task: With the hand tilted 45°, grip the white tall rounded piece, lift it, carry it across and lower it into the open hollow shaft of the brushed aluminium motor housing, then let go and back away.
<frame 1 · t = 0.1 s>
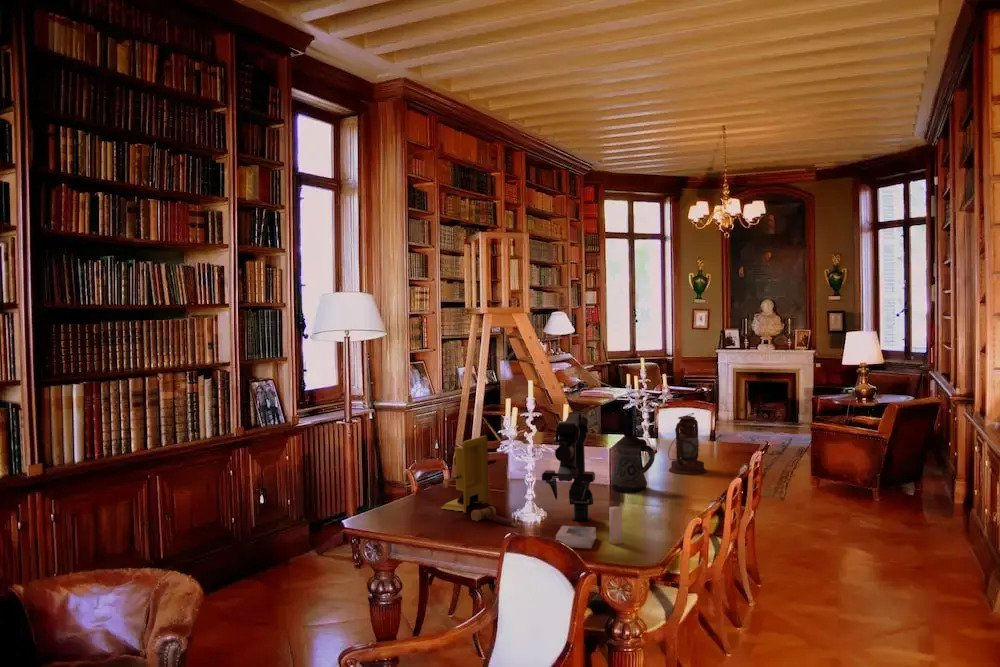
hand: (568, 499, 283), 15 cm above the table, tool pointing down, fingers open, 9 cm apart
olive upright panel stand: (465, 506, 336), on the table
white tall rounded piece: (616, 542, 279), on the table
beer stein: (632, 489, 361), on the table
lantern: (687, 471, 398), on the table
housing: (576, 542, 280), on the table
gavel: (497, 523, 310), on the table
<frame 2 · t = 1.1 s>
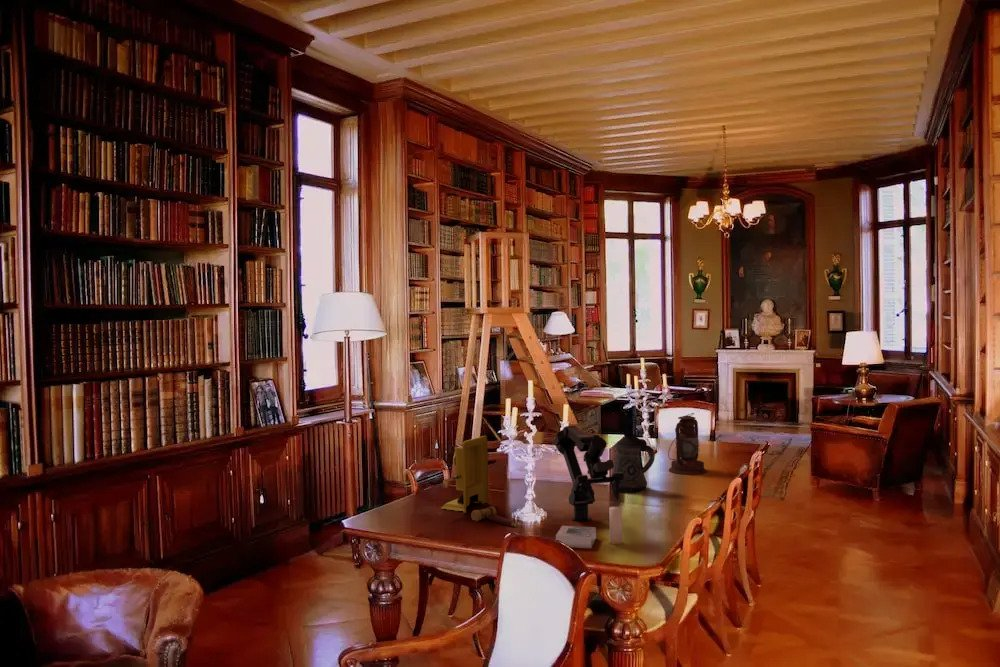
hand: (606, 500, 286), 13 cm above the table, tool tilted 45°, fingers open, 9 cm apart
nothing on the table moved.
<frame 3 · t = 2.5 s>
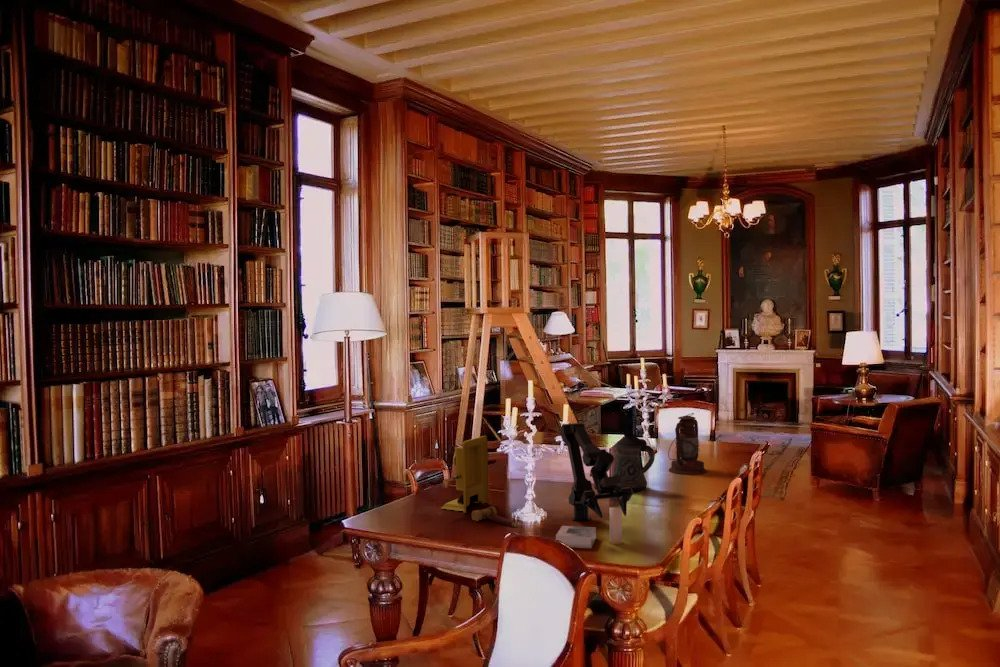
hand: (613, 516, 280), 9 cm above the table, tool tilted 45°, fingers open, 9 cm apart
nothing on the table moved.
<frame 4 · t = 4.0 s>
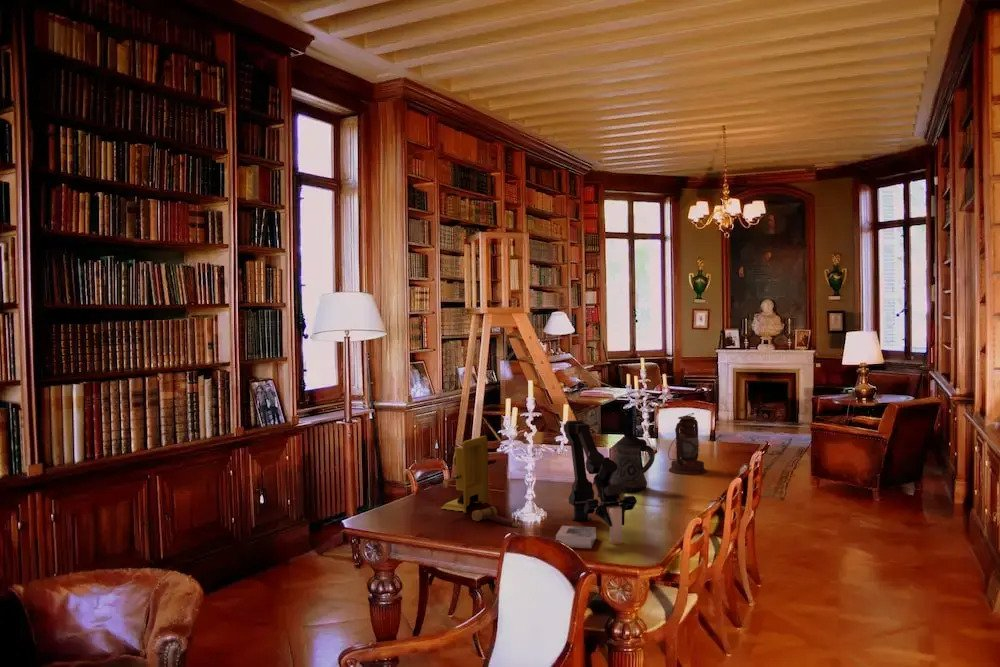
hand: (617, 525, 277), 7 cm above the table, tool tilted 45°, fingers closed on white tall rounded piece, 4 cm apart
white tall rounded piece: (616, 542, 279), on the table, touching gripper
everything else where it was.
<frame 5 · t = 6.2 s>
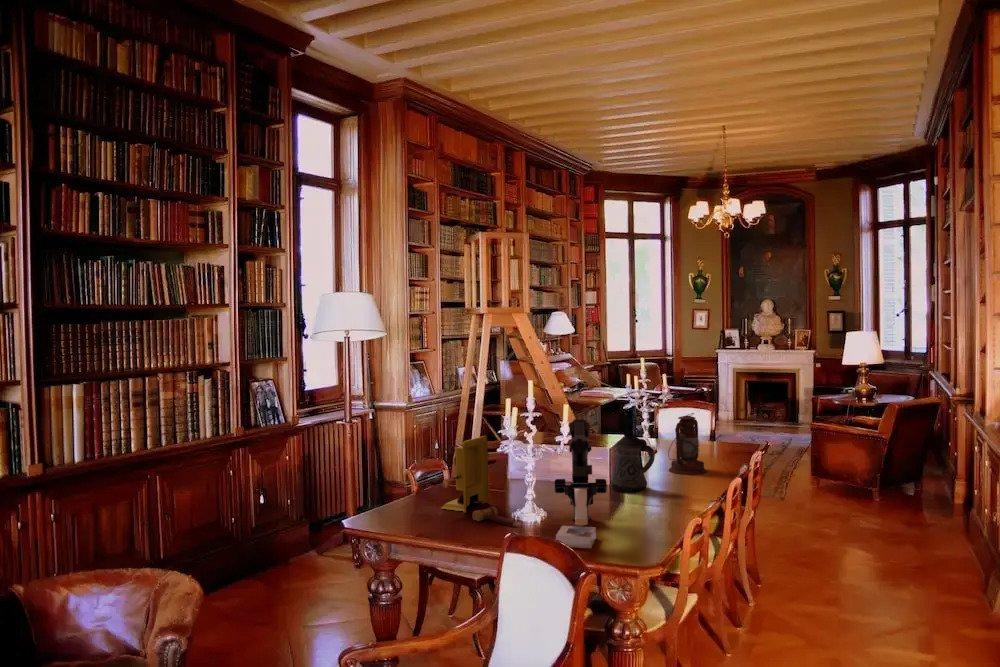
hand: (580, 506, 278), 13 cm above the table, tool tilted 45°, fingers closed on white tall rounded piece, 4 cm apart
white tall rounded piece: (581, 523, 280), point 7 cm above the table, touching gripper
everything else where it was.
when the fingers open (8 cm above the table, at t = 8.4 s): white tall rounded piece drops 1 cm, resting in housing.
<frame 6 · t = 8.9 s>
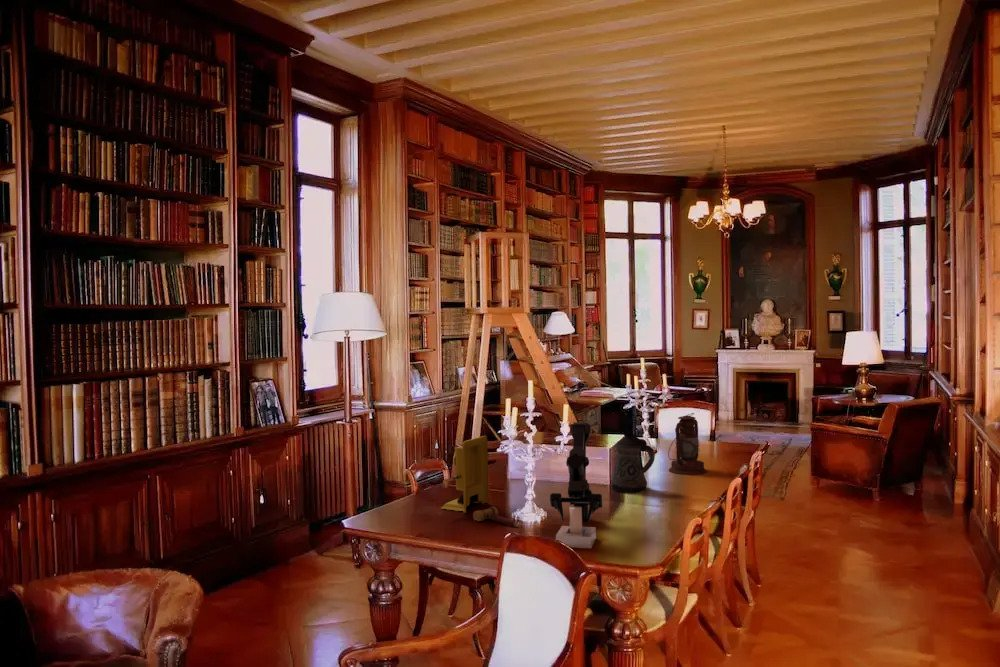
hand: (575, 521, 279), 8 cm above the table, tool tilted 45°, fingers open, 9 cm apart
white tall rounded piece: (576, 542, 280), resting in housing
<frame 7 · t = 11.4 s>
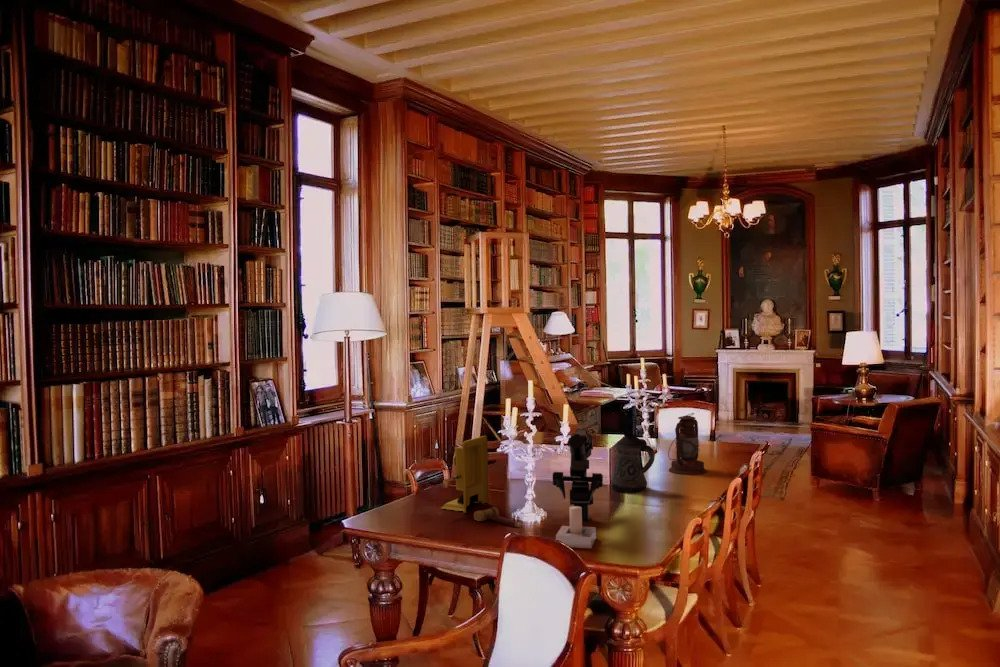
hand: (577, 499, 288), 14 cm above the table, tool tilted 45°, fingers open, 9 cm apart
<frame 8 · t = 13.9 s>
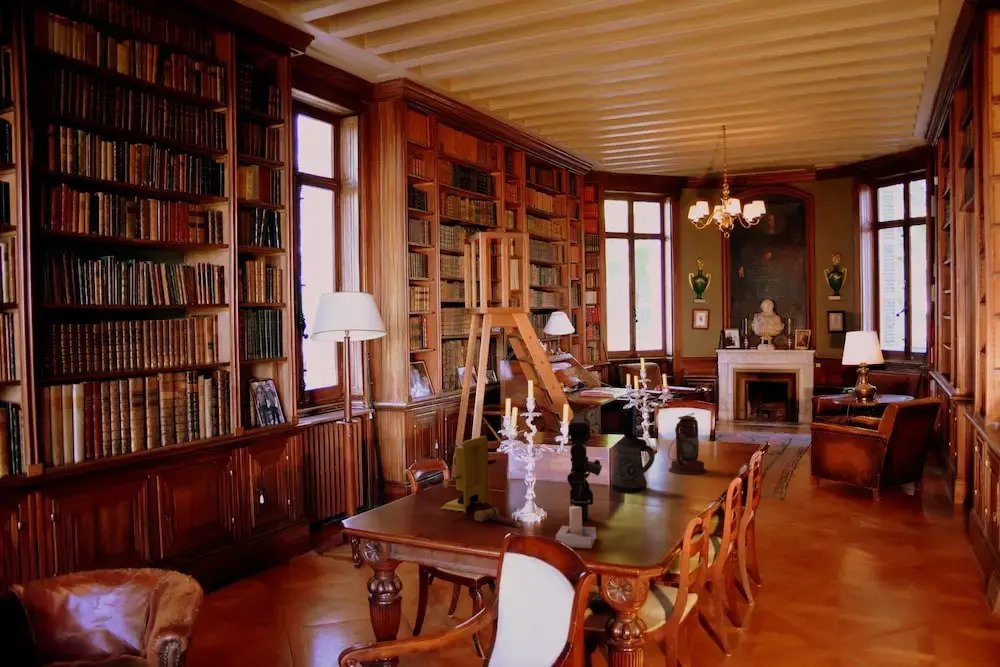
hand: (579, 495, 296), 13 cm above the table, tool pointing down, fingers open, 9 cm apart
at the end: white tall rounded piece 0.0 cm off-centre on the housing, point 0.0 cm above the housing's base; white tall rounded piece tilted 0°; the gripper is holding nothing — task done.
